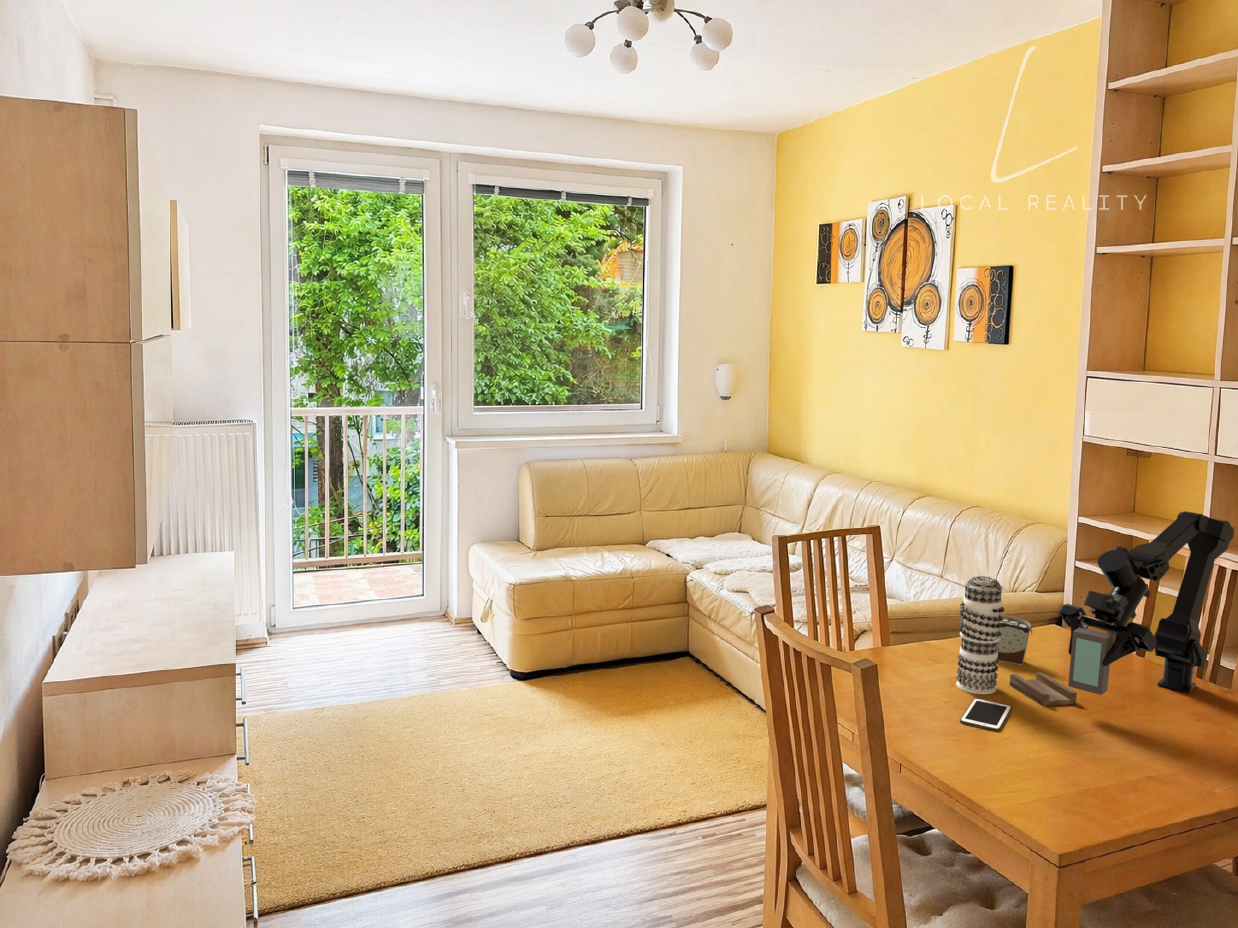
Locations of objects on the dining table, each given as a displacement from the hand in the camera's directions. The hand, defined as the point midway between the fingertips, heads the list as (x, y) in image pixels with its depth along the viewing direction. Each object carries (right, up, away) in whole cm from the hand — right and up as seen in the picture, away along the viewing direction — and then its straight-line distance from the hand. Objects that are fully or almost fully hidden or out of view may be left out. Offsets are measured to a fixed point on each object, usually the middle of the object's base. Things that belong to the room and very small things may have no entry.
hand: (1086, 659), depth 193 cm
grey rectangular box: (+1, -6, +2) cm, 7 cm away
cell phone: (-20, -13, +2) cm, 24 cm away
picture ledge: (-3, -11, +13) cm, 17 cm away
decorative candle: (-16, -10, +17) cm, 26 cm away
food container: (-2, -8, +36) cm, 37 cm away
